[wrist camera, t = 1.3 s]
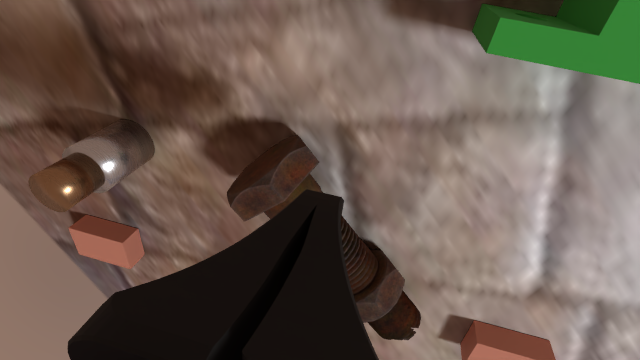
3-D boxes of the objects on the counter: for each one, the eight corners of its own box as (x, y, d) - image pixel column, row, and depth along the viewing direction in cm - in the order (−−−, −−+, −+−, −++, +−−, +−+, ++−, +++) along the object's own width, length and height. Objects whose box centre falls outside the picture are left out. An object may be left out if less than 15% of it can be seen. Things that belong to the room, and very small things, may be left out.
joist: (530, 363, 25) (536, 388, 24) (460, 343, 26) (462, 366, 25) (549, 340, 24) (557, 365, 22) (474, 320, 24) (477, 343, 23)
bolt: (395, 285, 27) (275, 139, 22) (450, 298, 23) (318, 122, 18) (356, 351, 25) (210, 202, 20) (410, 379, 21) (243, 199, 16)
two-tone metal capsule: (158, 165, 24) (83, 223, 19) (118, 156, 25) (34, 210, 20) (150, 124, 23) (65, 175, 17) (107, 115, 23) (12, 161, 18)
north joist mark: (144, 254, 30) (130, 269, 29) (95, 240, 31) (79, 254, 30) (138, 228, 29) (122, 243, 27) (86, 214, 29) (68, 227, 28)
